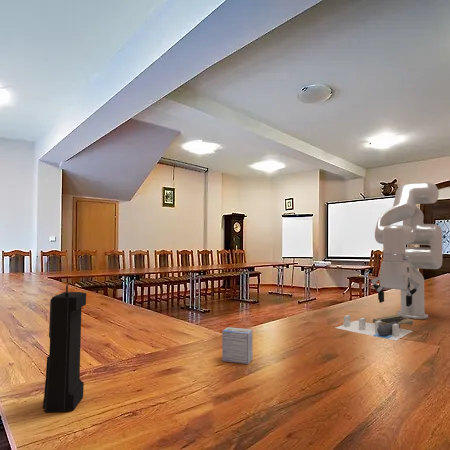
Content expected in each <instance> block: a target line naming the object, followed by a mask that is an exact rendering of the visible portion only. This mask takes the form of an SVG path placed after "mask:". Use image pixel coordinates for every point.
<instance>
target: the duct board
mask: <svg viewBox="0 0 450 450" xmlns="http://www.w3.org/2000/svg"><path fill="white" fill-rule="evenodd" d="M380 326H382V321H376V322H375V323H373V322H367V320H366V318H365V317H361V318H358V320H352V321H351V315H348V314H346V315H344V316H343V324H342V325H340V326H337V327H335V329H339V330H344V331H348V332H350V333H351V332H353V333H356V334H361V335H367V336H370V337H377V338H380V339H385V340H390V341H398V340H400V339H401V338H404V337H405V336H407V335H409V334H411V333H412V332H413V330H410V329H403V328H400V329H399V324H393V325H392V332H391V333H389V334H386V335H383V336H382V335H380V334H379V333H378V332H377V329H378V327H380Z"/></svg>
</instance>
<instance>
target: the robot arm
mask: <svg viewBox="0 0 450 450" xmlns="http://www.w3.org/2000/svg"><path fill="white" fill-rule="evenodd" d="M439 192H440V191H439V189H438V187H437V185H436V184H434V183H431V182H427V181H426V182H414V183H413V182H412V183H404V184H401V185H400V186H398V187H397V189H396V191H395V196H394V201H393V204H392V207H391V208H389V209H388V210H386V211H385V212H384V213H383V214H381V215H380V216H379V217H378V220H377V222H376V226H375V230H374V238H375V241H376V242H377V243H378V244H380V245H382V247H383V248H382V249H383V250H382V251H383V252H382V255H383V259H382V260H383V261H381V264H380V268H379V276H377V277H375V278H373V279H371V280H370V282H371V283H372V286H373V288H374V289H375V290H376V292H377V300H378V301H379V302H378V303H381V304H382V303H383V302H385V291H384V290H385V289H390V290H391V289H392V290H400V310H399V311H397V312H396V313H397V314H396V315H399V316H402V317H405V318H408V319H411V320H414V319H415V320H426V319H428V318H429V314H427V313H425V278H424V276H423V273H421V272H420V270H419V269H424V270H429V269H430V270H438V269H440V268H441V267H442V265H443V231H442V227H441V226H440V225H439V224H435V223H424V213H423V211H422V210H421V209H420V208H419V207H418V206H417V205H422V204H424V205H428V204H435V203H437V201H438V199H439V194H440V193H439ZM399 222H402V225H396V223H399ZM393 224H395V225H393ZM406 245H412V246H413V245H416V246H417V245H419V246H417V247H415V246H413V247H412V246H406ZM420 246H430V247H420ZM378 281H379V284H378V283H377V282H378Z"/></svg>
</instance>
